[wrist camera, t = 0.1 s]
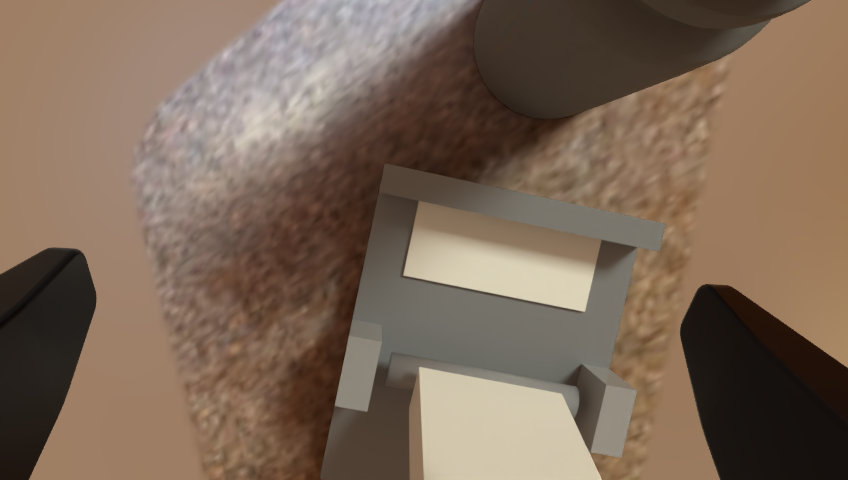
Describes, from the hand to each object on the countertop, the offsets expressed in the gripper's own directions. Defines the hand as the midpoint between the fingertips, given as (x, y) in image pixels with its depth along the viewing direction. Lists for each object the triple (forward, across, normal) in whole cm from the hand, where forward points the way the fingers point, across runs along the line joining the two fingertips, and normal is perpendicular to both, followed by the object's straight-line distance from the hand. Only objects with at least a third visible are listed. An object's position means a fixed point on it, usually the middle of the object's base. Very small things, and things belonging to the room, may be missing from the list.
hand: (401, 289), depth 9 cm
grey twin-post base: (+10, -4, +13) cm, 16 cm away
